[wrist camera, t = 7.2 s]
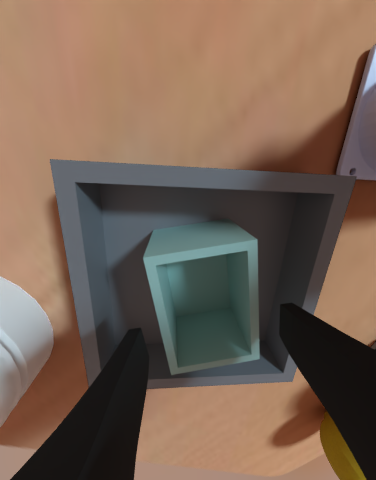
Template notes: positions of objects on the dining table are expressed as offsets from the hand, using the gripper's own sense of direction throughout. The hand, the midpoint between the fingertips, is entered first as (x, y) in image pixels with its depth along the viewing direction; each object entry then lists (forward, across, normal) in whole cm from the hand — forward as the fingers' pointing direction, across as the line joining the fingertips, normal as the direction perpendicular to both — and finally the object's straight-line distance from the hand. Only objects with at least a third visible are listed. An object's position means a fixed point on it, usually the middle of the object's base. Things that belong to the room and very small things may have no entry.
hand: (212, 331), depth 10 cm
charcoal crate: (+7, 0, 0) cm, 7 cm away
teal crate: (+6, 0, 0) cm, 6 cm away
